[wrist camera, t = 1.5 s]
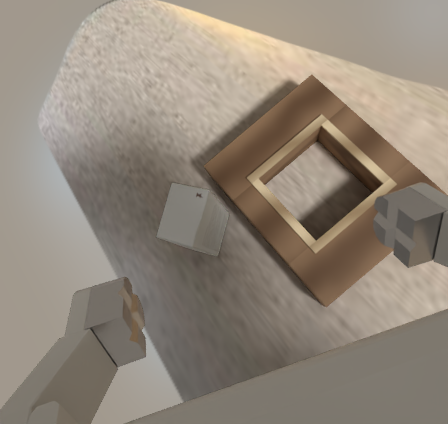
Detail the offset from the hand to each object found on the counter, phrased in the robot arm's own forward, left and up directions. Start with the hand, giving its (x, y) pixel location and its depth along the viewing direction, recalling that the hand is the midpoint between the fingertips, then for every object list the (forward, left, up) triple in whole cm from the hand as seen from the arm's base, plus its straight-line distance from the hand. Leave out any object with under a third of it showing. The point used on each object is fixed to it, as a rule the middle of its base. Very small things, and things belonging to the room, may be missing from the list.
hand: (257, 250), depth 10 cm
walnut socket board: (+5, -11, -32) cm, 34 cm away
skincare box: (+10, +3, -32) cm, 34 cm away
